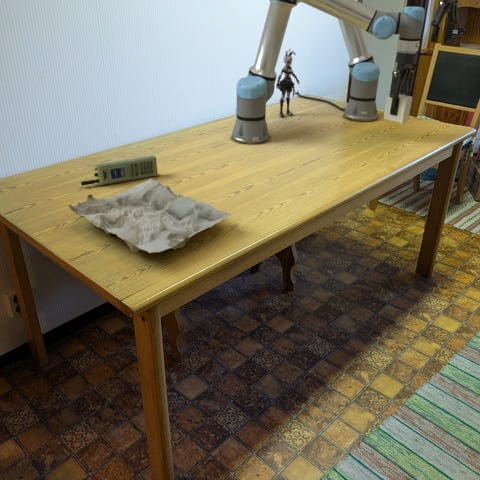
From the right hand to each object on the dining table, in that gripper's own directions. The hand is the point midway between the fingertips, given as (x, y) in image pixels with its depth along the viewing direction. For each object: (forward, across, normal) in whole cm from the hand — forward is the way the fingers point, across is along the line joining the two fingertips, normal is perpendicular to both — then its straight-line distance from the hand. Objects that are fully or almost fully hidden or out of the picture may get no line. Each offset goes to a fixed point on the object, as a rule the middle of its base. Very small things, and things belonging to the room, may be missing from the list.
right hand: (441, 41), depth 226 cm
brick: (+24, -47, -9) cm, 54 cm away
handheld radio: (+33, -152, +29) cm, 158 cm away
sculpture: (+33, -164, -4) cm, 167 cm away
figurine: (+33, -53, +44) cm, 76 cm away
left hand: (+22, -47, -9) cm, 53 cm away
